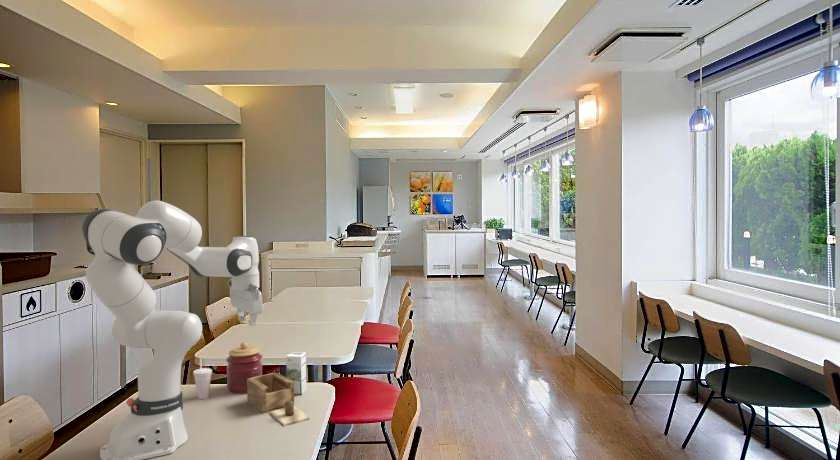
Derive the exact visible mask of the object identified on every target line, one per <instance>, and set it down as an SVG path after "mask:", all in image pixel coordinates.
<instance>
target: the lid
mask: <svg viewBox="0 0 840 460" xmlns="http://www.w3.org/2000/svg"><path fill="white" fill-rule="evenodd" d="M269 413H270V415H271V416H272V417H274V418H275V420H277V421H278V422H279V423H280V424H282V425H283V426H284V427H287V426H290V425H294V424H298V423H301V422H306V421H310V417H309V416H308V415H307V414H306V413H304V412H303V411H302V410H301V409H299V408H298V407H296V406H295V401H294V402H293V401H287V402H285V408H282V409H278V410H274V411H270V412H269Z"/></svg>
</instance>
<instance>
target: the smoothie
mask: <svg viewBox="0 0 840 460" xmlns="http://www.w3.org/2000/svg"><path fill="white" fill-rule="evenodd" d="M202 364H203V363H202V358H200V359H199V368H198V369H197V368H196V369H195V370H193V373H192V375H193V376H194V381H195V382H194V383H195V387H196V388H195V389H196V394H197V399H200V400H205V399H207V398H209V397H210V390H211V389H210V388H211V380H212V374H213V369H212V368H210V367H209V368H207V367H204V368H203V367H202V366H203V365H202Z"/></svg>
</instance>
